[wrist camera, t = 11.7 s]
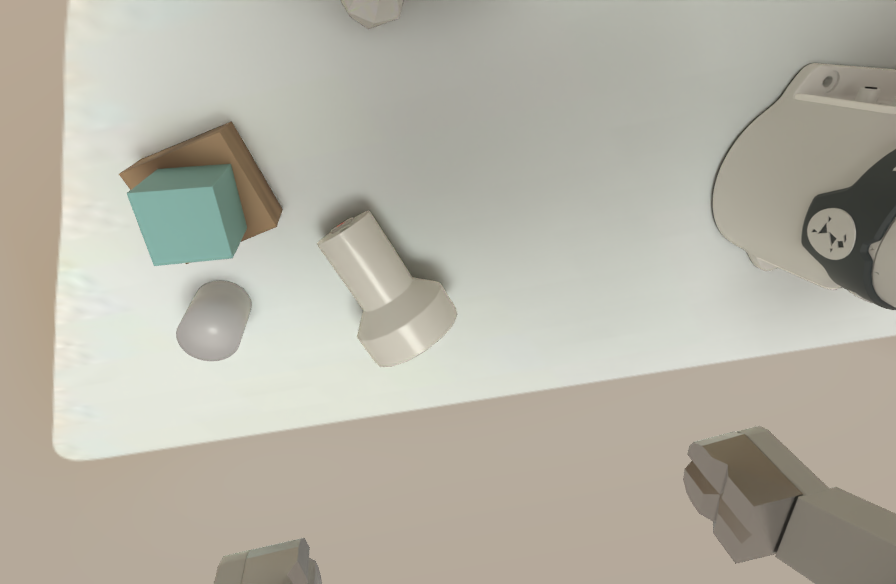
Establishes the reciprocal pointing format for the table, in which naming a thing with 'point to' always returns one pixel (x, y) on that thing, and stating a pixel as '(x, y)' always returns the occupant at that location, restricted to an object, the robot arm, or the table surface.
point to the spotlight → (387, 293)
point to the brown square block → (217, 150)
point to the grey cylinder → (214, 321)
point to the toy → (373, 11)
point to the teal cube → (189, 214)
